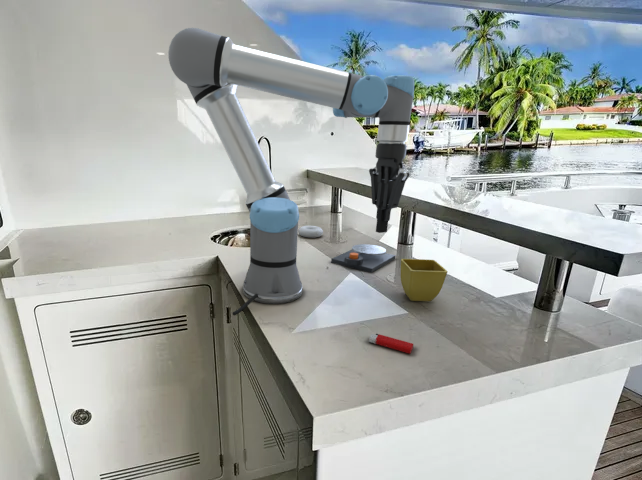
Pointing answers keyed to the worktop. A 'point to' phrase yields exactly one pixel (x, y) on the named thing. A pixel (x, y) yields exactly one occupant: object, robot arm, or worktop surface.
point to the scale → (363, 261)
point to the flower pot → (422, 278)
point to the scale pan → (369, 249)
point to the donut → (310, 231)
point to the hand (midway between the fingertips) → (381, 231)
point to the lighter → (391, 343)
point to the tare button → (353, 255)
